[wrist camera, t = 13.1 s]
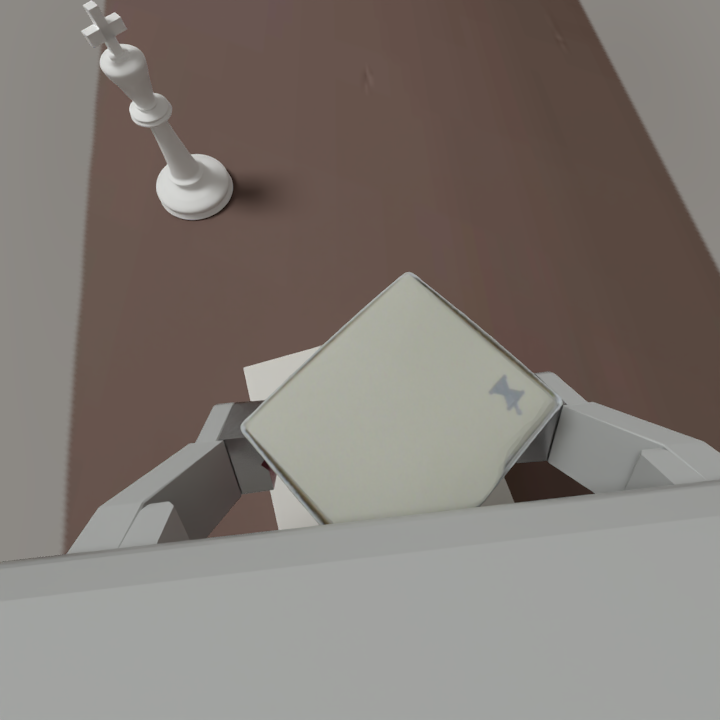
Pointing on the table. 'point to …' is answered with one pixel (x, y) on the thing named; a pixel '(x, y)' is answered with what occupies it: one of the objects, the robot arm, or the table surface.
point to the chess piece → (159, 126)
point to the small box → (401, 413)
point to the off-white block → (286, 505)
